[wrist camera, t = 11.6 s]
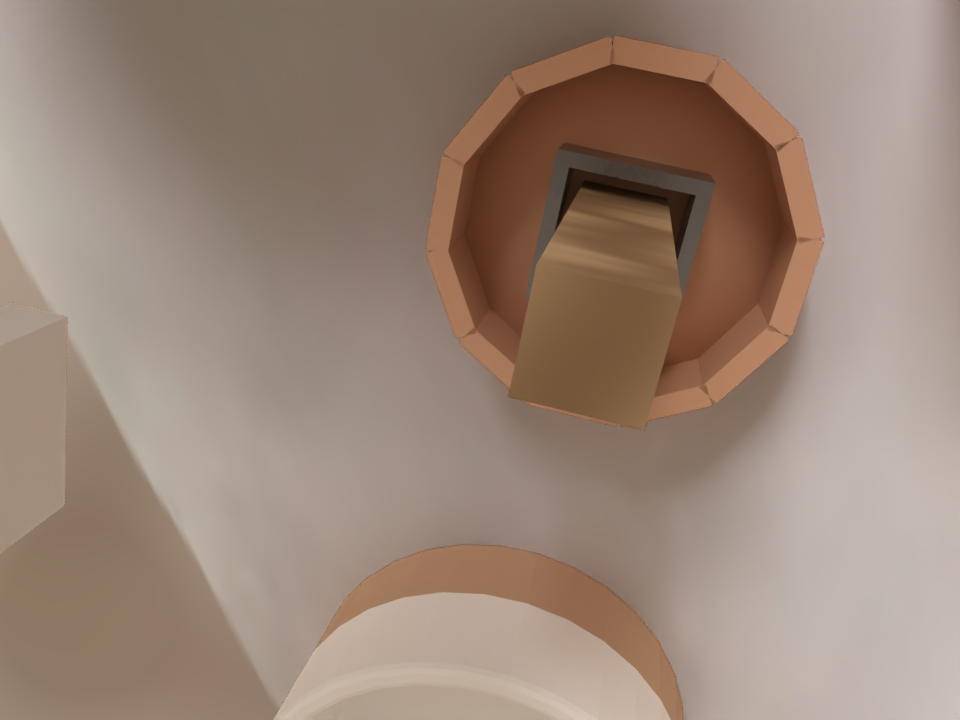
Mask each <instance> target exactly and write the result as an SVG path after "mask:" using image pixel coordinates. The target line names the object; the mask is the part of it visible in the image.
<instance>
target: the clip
mask: <svg viewBox="0 0 960 720" xmlns="http://www.w3.org/2000/svg"><path fill="white" fill-rule="evenodd" d="M573 168H574V169H579V170H584V171H588V172H593V173H597V174H602V175H606V176H611V177H615V178H620V179H624V180H629V181H633V182H638V183H642V184H647V185H651V186H656V187H660V188H665V189H669V190H674V191H678V192H683V193H687V194H690V195H689V199H688V202H687V206H686V209H685V213H684V216H683V220H682V224H681V227H680V231H679V234H678V238H677V241H676V245H675V252H676V259H677V266H678V273H679V280H680V287H681V294H682V298H683V294H684V291H685V287H686V284H687V280H688V277H689V274H690V270H691V267H692V263H693V260H694V256H695V253H696V250H697V246H698V243H699V239H700V236H701V232H702V229H703V225H704V222H705V219H706V215H707V212H708V208H709V205H710V201H711V198H712V194H713V191H714V188H715V184H716V183H715V181H714V180H713V178H712V176H711V174H707V173H702V172H698V171H693V170H689V169H684V168H679V167H675V166H670V165H666V164H661V163H657V162H652V161H647V160H643V159H638V158H634V157H629V156H624V155H620V154H615V153H611V152H606V151H602V150H597V149H592V148H588V147H583V146H579V145H574V144H570V143H564V144H563V145H561V146H560V147H559V148H558V150H557V154H556V159H555V163H554V168H553V172H552V177H551V181H550V186H549V191H548V195H547V200H546V204H545V209H544V213H543V218H542V222H541V227H540V231H539V236H538V240H537V245H536V250H535V254H534V259H533V263H532V268H531V272H530V277H529V281H528V286H527V290H526V295H525V299H529V297H530V293H531V288H532V284H533V279H534V274H535V270H536V265H537V263H538V261H539V259H540V258H541V256H542V254H543V252H544V251H545V249H546V247H547V245H548V244H549V242H550V240H551V238H552V237H553V235H554V233H555V231H556V230H557V228H558V226H559V224H560V223H561V220H562V216H563V211H564V207H565V203H566V198H567V194H568V189H569V185H570V181H571V176H572V172H573ZM681 301H682V300H681ZM680 305H681V303H680ZM679 308H680V307H679ZM678 311H679V310H678ZM677 315H678V314H677ZM675 322H676V321H675ZM673 329H674V328H673Z"/></svg>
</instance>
